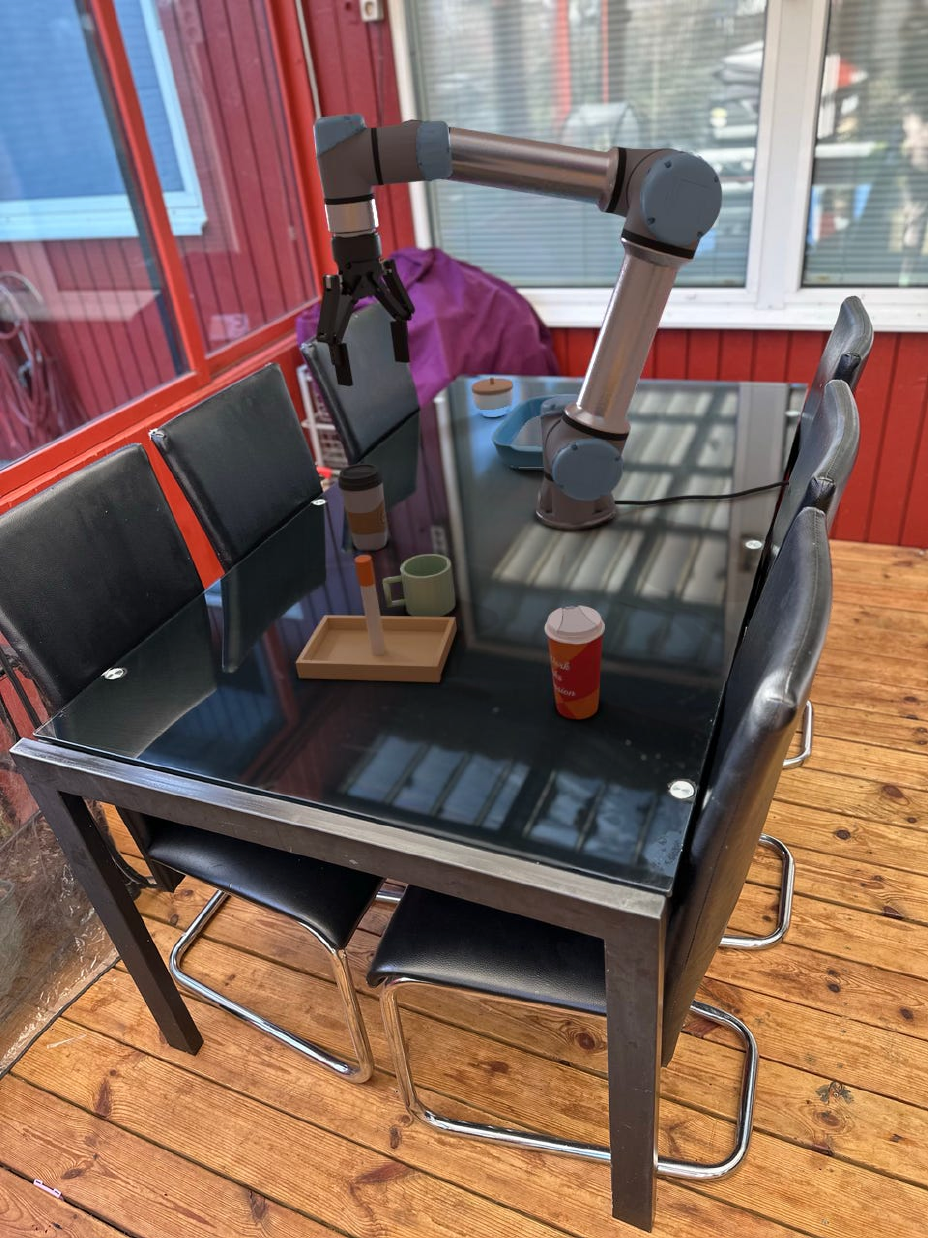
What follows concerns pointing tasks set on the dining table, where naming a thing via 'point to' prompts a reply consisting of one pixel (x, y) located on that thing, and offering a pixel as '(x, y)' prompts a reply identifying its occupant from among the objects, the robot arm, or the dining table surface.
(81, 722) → the dining table surface
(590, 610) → the paper cup
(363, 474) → the coffee cup
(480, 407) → the trinket box
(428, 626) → the tray
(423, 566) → the mug
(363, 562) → the marker
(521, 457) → the casserole dish
